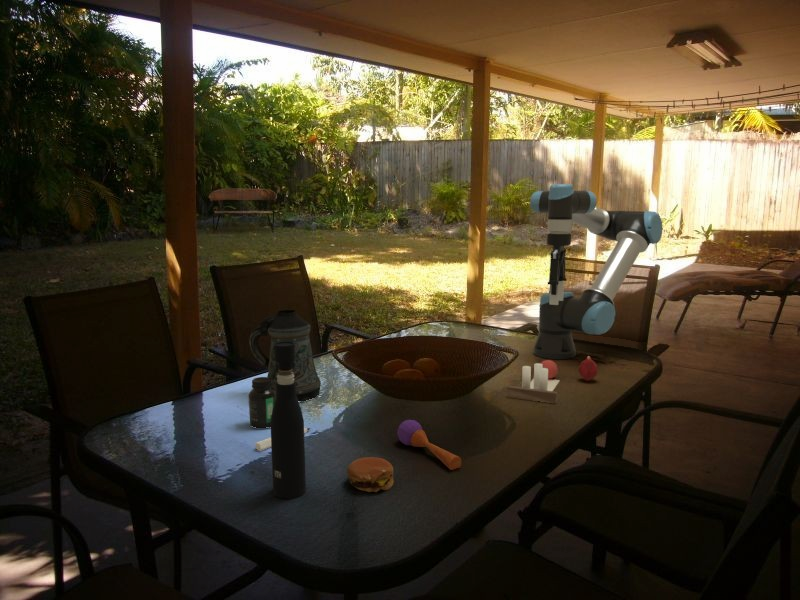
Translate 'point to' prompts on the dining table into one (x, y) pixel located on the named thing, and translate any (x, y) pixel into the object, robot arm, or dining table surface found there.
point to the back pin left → (543, 379)
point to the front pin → (537, 374)
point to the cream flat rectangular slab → (551, 384)
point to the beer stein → (297, 331)
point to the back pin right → (526, 376)
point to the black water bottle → (287, 429)
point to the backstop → (532, 394)
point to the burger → (371, 474)
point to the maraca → (425, 443)
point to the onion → (588, 369)
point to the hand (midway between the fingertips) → (556, 302)
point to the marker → (269, 442)
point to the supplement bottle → (261, 402)
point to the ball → (550, 368)
